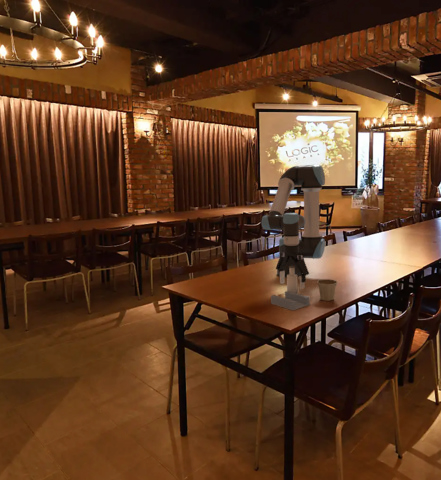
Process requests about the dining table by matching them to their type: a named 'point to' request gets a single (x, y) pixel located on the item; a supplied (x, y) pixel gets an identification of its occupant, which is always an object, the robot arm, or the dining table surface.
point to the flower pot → (327, 289)
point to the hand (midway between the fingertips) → (292, 286)
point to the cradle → (291, 300)
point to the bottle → (292, 280)
